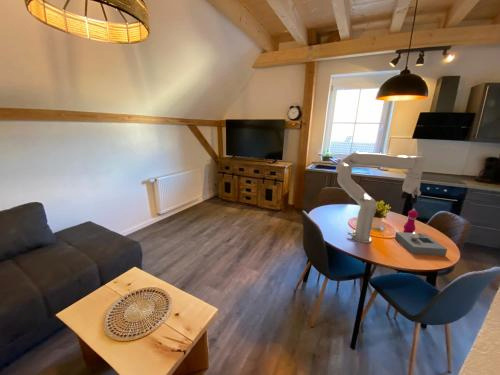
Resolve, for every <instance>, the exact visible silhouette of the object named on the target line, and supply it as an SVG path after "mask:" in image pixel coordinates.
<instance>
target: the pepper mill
mask: <svg viewBox="0 0 500 375" xmlns="http://www.w3.org/2000/svg"><path fill="white" fill-rule="evenodd" d="M407 215H408V216H407V221H406V222H405V223H404V224H403V231H402V232H403V233H415V231H416V225H415V221H416V220H417V218H418V216H419V214H418V212H417V211H416V209H415V208H412V210H409V211H408V213H407Z"/></svg>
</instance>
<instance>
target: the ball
mask: <svg viewBox="0 0 500 375" xmlns="http://www.w3.org/2000/svg"><path fill="white" fill-rule="evenodd" d="M417 233H418V232H414V233H411V234H410V238H411V239H413V240H418V239H419V235H418V234H417Z"/></svg>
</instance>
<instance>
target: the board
mask: <svg viewBox="0 0 500 375" xmlns="http://www.w3.org/2000/svg"><path fill="white" fill-rule="evenodd" d="M416 233H417V234H418V235H419V239H418V240H413V239H411V238H410V234H411V233H404V232H403V231H402V232H400V231H396V232H395V236H394V239H395V240H396V241H397V242H398V243H399V244H400V245H402V246H403V247H404V248H405V249H406V251H408V252H409V253H411V255H412V254H413V255H421V256H422V255H424V256H425V255H427V256H439V257H440V256H441V257H446V255H447V253H448V248H447V247H445V246H444V245H442V244H441V243H440V242H438V241H437V240H435V239H434V238H432V237H431V236H429V235H428V234H426V233H419V232H416Z"/></svg>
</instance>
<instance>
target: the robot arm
mask: <svg viewBox="0 0 500 375" xmlns="http://www.w3.org/2000/svg"><path fill="white" fill-rule="evenodd" d="M425 161H426V158H425V157H424V156H422V155H421V156H420V155H406V154H405V155H404V154H401V155H397V156H394V155H389V154H384V153H373V152H371V153H370V152H361V151H354V152H352V153H350V155H348V156H346V157H345V158H344V159H342V160H340V162H338V163H337V164H336V166H335V171H336V172H337V173H338V174H337V176H336V180H337V183H338V186H340V187H341V188H342V190H344V191H345V193H346V194H348V196H349V197H350V198H352V199H353V200H354V201H355V202H356V203H357V205H358V206H359V207H360V208H359V210H358V213H357V214H358V215H357V219H356V225H355V230H353V231H352V232H351V231H348V232H347V235H348V236H351V237H352V240H355V241H357V242H359V243H364V244H370V243H371V242H372V238H371V232H372V226H373V220H374V217H375V213H376V210H377V208H378V206H377V205H378V204H377V202H376V200H375V199H374V198H373V197H372V196H370V195H369V193H368V192H366V191H365V190H364V188H363V187H362V186H361V185H359V184H358V183H356V182H355V181H354V180H353V178H352V176H351V175H352V172H353V168H354V167H355V166H360V167H375V168H376V167H377V168H386V169H397V170H407V172H406V176H405V178H404V180H403V184H402V185H401V187H402V188H401V190H402V191H401V192H402V193H401V197H400V198H401V199H403V200H404V199H407V198H408V194H410V195H411V196H412V197H411V199H410V204H417V201H418V199H419V197H420V195H422V191H421V190H420V189H421V181H422V180H421V179H422V175H423V170H424V166H425Z"/></svg>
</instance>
